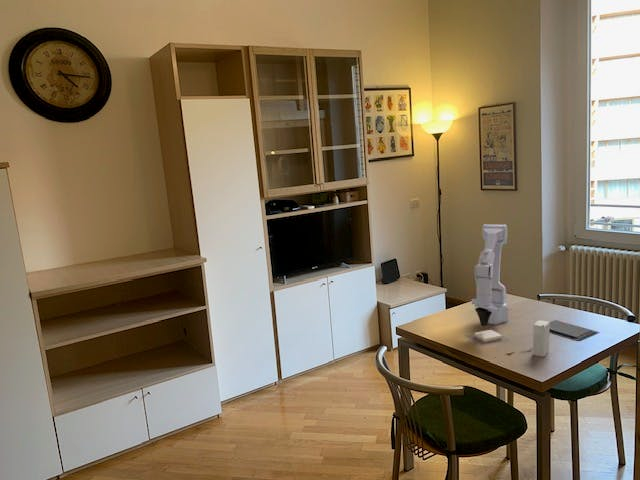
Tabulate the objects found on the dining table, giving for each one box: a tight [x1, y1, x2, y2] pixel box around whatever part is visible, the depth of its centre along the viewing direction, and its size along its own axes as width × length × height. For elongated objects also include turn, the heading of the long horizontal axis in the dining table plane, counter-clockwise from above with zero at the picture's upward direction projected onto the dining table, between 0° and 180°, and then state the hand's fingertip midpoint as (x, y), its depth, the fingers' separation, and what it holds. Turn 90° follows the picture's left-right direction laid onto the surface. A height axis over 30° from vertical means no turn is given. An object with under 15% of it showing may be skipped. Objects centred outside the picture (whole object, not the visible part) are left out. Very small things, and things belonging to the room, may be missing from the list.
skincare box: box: [532, 320, 551, 358], centre depth 188 cm, size 6×4×12 cm
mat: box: [465, 333, 511, 347], centre depth 204 cm, size 13×12×1 cm
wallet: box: [549, 319, 600, 342], centre depth 209 cm, size 20×2×15 cm
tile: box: [473, 329, 503, 343], centre depth 203 cm, size 8×2×7 cm
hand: (484, 325), depth 205 cm, fingers closed
